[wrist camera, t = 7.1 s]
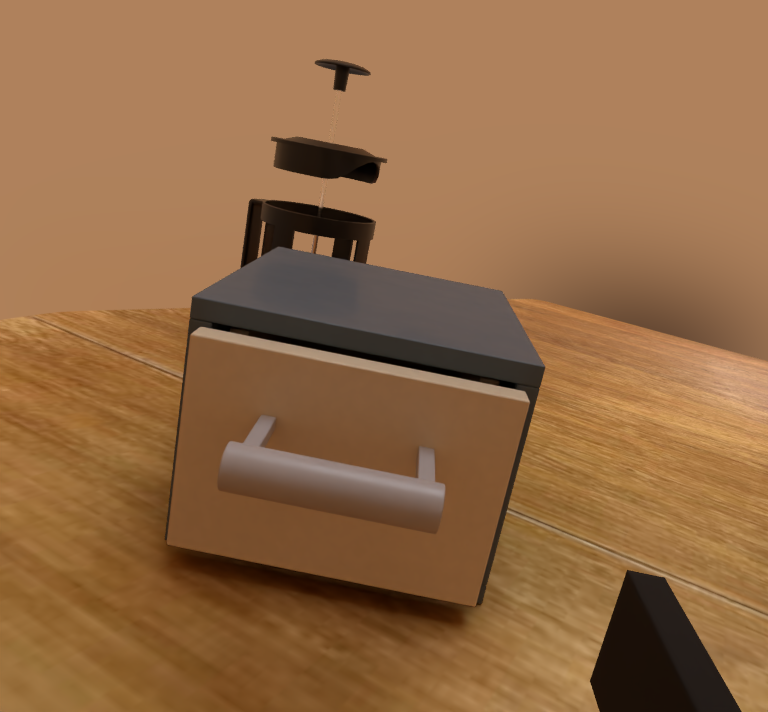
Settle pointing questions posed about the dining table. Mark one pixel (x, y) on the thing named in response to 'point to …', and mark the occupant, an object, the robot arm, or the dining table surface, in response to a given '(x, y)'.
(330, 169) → the french press
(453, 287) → the cabinet
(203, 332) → the drawer
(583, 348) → the dining table surface
